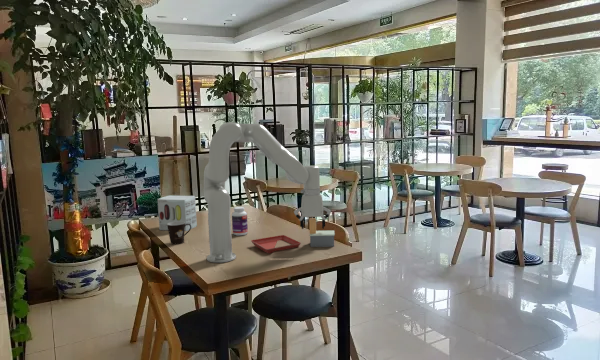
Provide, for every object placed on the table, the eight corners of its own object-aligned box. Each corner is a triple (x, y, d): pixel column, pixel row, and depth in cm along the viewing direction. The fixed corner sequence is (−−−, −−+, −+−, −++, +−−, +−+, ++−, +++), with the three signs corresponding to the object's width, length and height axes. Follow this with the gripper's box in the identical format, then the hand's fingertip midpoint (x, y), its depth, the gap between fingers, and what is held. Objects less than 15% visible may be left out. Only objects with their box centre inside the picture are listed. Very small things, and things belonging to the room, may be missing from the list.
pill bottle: (245, 236, 235) (243, 209, 233) (230, 236, 237) (229, 209, 235) (249, 232, 243) (248, 206, 241) (235, 232, 244) (234, 206, 243)
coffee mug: (168, 245, 221) (167, 226, 219) (168, 241, 229) (167, 222, 227) (192, 243, 224) (191, 223, 222) (192, 239, 232) (190, 220, 231)
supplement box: (158, 230, 254) (156, 199, 251) (170, 225, 266) (168, 195, 264) (186, 231, 250) (184, 199, 247) (197, 226, 262) (195, 195, 260)
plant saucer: (301, 249, 209) (301, 242, 209) (266, 256, 200) (266, 248, 200) (283, 241, 225) (283, 234, 224) (250, 247, 216) (250, 240, 216)
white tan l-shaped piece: (334, 236, 207) (334, 220, 206) (309, 236, 208) (309, 220, 207) (334, 232, 215) (334, 217, 214) (310, 232, 216) (309, 217, 215)
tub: (334, 248, 208) (333, 235, 208) (310, 248, 209) (310, 235, 208) (334, 244, 215) (333, 231, 214) (311, 244, 216) (310, 232, 215)
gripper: (292, 193, 206) (293, 230, 208) (330, 193, 205) (331, 229, 207) (293, 191, 213) (295, 226, 216) (330, 190, 212) (331, 226, 214)
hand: (312, 228), depth 211 cm, fingers open, 9 cm apart
